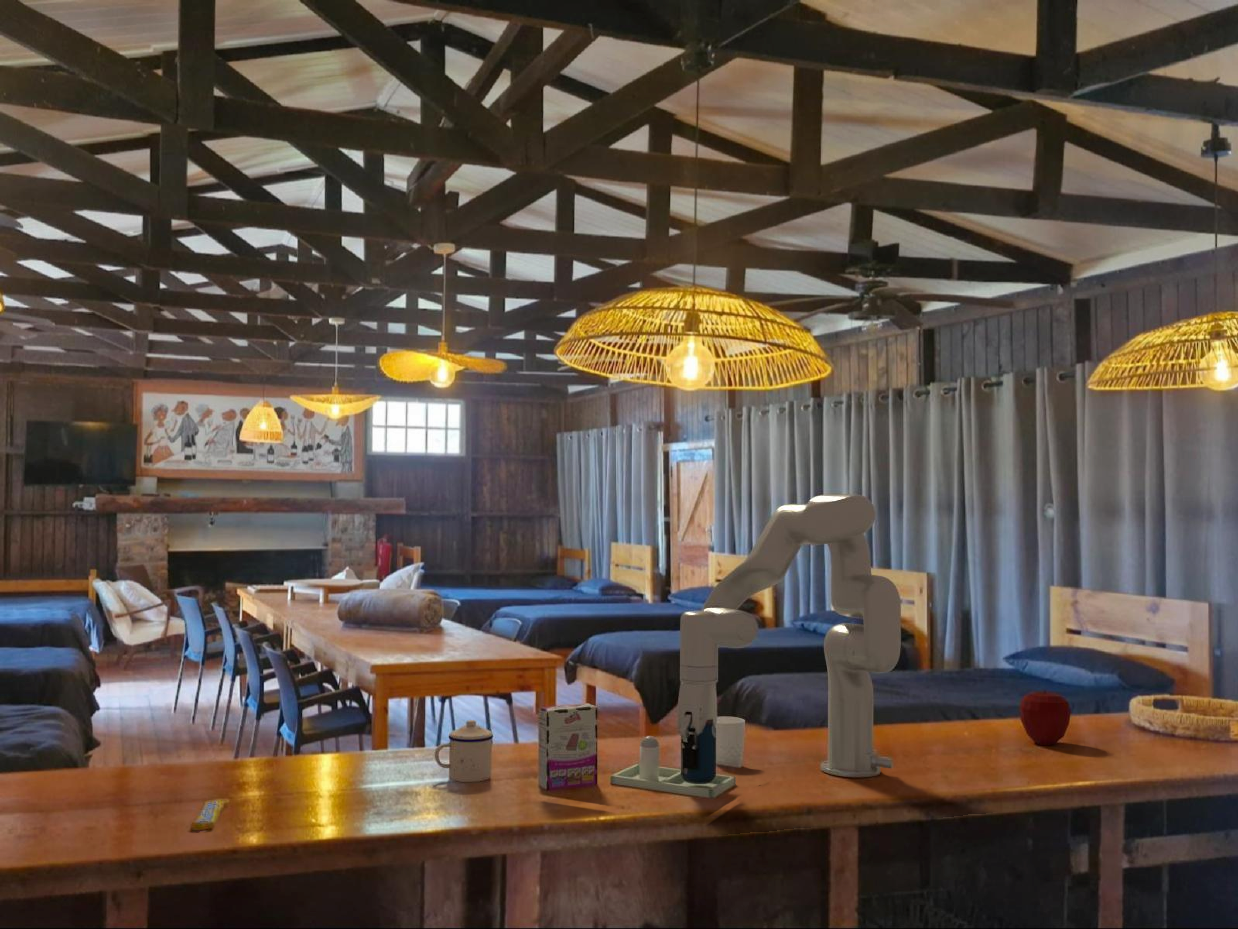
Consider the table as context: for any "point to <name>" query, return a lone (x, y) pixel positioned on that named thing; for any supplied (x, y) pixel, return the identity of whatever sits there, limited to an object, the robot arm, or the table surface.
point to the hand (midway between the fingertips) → (698, 764)
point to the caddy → (672, 782)
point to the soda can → (703, 757)
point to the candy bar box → (567, 746)
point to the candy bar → (209, 814)
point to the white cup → (729, 741)
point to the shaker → (649, 759)
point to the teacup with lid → (468, 753)
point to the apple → (1045, 716)
